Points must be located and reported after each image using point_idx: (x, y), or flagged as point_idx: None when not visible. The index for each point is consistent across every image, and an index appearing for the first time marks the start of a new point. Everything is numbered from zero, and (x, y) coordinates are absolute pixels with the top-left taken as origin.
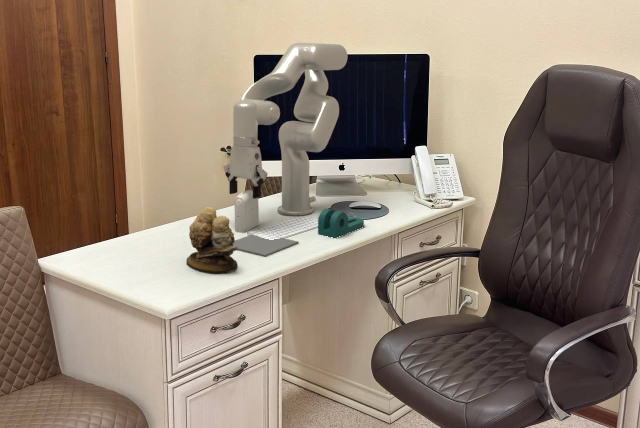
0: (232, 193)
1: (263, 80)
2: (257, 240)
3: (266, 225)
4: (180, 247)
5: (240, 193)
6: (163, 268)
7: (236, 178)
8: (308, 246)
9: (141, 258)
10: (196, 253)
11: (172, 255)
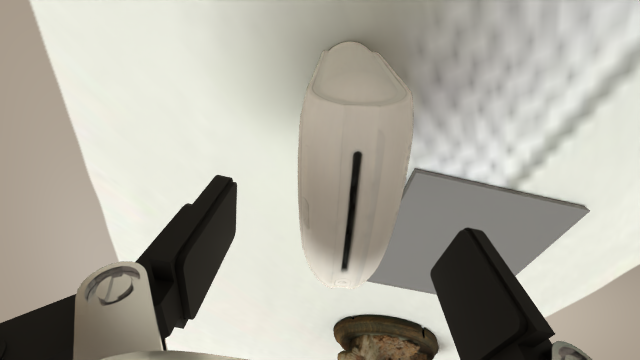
0: (235, 226)
1: None
2: (439, 237)
3: (415, 33)
4: (275, 295)
5: (323, 269)
6: (319, 351)
7: (153, 302)
8: (620, 218)
9: (259, 336)
10: (348, 342)
11: (293, 321)
